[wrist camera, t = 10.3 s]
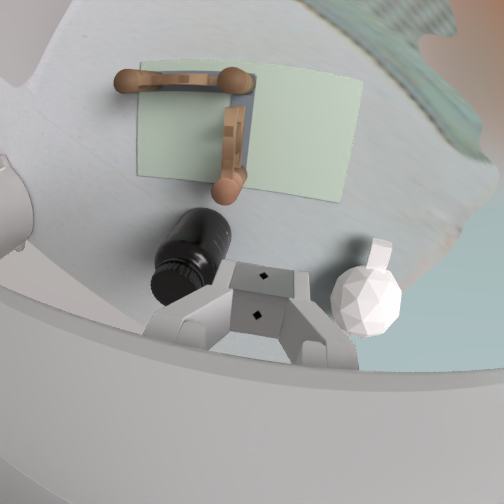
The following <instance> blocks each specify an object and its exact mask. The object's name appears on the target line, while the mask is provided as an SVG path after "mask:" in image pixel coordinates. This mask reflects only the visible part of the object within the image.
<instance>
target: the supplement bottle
mask: <svg viewBox="0 0 504 504" xmlns="http://www.w3.org/2000/svg"><path fill="white" fill-rule="evenodd" d="M230 242H231V229H230V226H229V224H228V222H227V221H226V219H225V218H224V217H223V216H222V215H221V214H219V213H218V212H216V211H214V210H211V209H208V208H196V209H193V210H191V211H189V212H187V213H186V214H185V215H184V216H183V217H182V218H181V219H180V220H179V222H178V223H177V224H176V226H175V227H174V228H173V230H172V231H171V232H170V234H169V235H168V236H167V238H166V239H165V240H164V242H163V243H162V245H161V246H160V247H159V249H158V251H157V253H156V256H155V270H156V271H155V273H154V275H153V276H152V279H151V284H150V285H151V290H152V293H153V294H154V297H155V298H156V299H157V300H158V301H159V302H160V303H161V304H163V305H164V306H168V305H170V304H172V303H173V302H175V301H177V300H179V299H181V298H183V297H185V296H187V295H189V294H191V293H193V292H194V291H196V290H198V289H200V288H202V287H204V286H206V285H212V283H213V281H214V278H215V275H216V273H217V270H218V268H219V265H220V263H221V261H222V260H223V259H225V257H226V254H227V251H228V248H229V245H230Z"/></svg>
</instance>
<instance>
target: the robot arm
mask: <svg viewBox="0 0 504 504" xmlns="http://www.w3.org/2000/svg"><path fill="white" fill-rule="evenodd" d="M32 229H33V209H32V204H31V201H30V197H29V195H28V192H27V190H26V187H25V185H24V184H23V182H22V180H21V179H20V177H19V176H18V175H17V174H16V173H15V172H14V170H13V169H12V168H11V167H10V164H9V162H8V160H7V158H6V156H5V155H0V259H2V258H3V257H4V256H6V255H7V254H9V253H10V252H12V251H13V250H16V251H18V252H20V251H22V250H23V249H24V246H25V241H26V239H27V238H28V237H29V236H30V235H31V232H32ZM229 331H233V332H240V333H247V334H254V335H259V336H265V337H271V338H276V339H278V340H279V342H280V344H281V345H282V347H283V349H284V351H285V352H286V354H287V356H288V357H289V359H290V361H291V363H292V364H287V363H279V362H272V361H265V360H259V359H252V358H246V357H240V356H234V355H229V354H223V353H218V352H213V351H208V350H209V349H210V348H211V347H213V346H214V345H215V344H216V343H217V342H219V341H220V340H221V339H222V338H223V337H224V336H225V335H227V334H228V333H229ZM0 504H504V368H497V369H486V370H472V371H452V372H381V371H380V372H379V371H360V370H359V365H358V358H357V352H356V346H355V344H354V343H353V342H352V341H351V340H350V339H349V338H348V337H347V336H346V334H345V333H344V332H343V331H342V330H341V329H340V328H339V327H338V326H337V325H336V324H335V323H334V322H333V321H332V320H331V319H330V318H329V317H328V315H327V314H326V313H325V312H324V311H323V310H322V309H321V308H320V307H319V306H318V305H317V304H316V303H315V302H313V301H310V287H309V273H308V272H303V271H295V270H286V269H279V268H271V267H265V266H261V265H256V264H250V263H245V262H239V261H234V260H227V259H223V260H222V261H221V263H220V265H219V268H218V270H217V273H216V275H215V278H214V281H213V283H212V285H206V286H204V287H202V288H200V289H198V290H196V291H194V292H193V293H191V294H189V295H187V296H185V297H183V298H181V299H179V300H177V301H175V302H173V303H172V304H170V305H168V306H166V307H164V308H162V309H160V310H158V311H156V312H155V313H154V315H153V316H152V318H151V320H150V322H149V324H148V325H147V327H146V329H145V331H144V333H143V335H140V334H136V333H133V332H129V331H126V330H122V329H119V328H115V327H112V326H108V325H105V324H102V323H99V322H96V321H92V320H89V319H86V318H83V317H80V316H77V315H74V314H72V313H68V312H66V311H63V310H60V309H58V308H55V307H52V306H49V305H47V304H44V303H42V302H39V301H36V300H34V299H31V298H29V297H26V296H24V295H22V294H19V293H17V292H14V291H12V290H9V289H7V288H5V287H3V286H1V285H0Z"/></svg>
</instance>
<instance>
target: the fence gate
mask: <svg viewBox="0 0 504 504" xmlns="http://www.w3.org/2000/svg"><path fill="white" fill-rule="evenodd" d="M245 109H246V106H238V105H235V106H234V107H225V116H224V131H223V147H222V165H221V176H220V178H219V179H218V180H217V181H216V182H215V184H214V185H213V187H212V189H211V195H212V197H213V199H214V200H215V202H217V203H218V204H220V205H230V204H232V203H233V202H234V201H235V200H236V199H237V197H238V195H239V193H240V191H241V189H242V187H243V185H244V183H245V181H246V179H247V176H248V174H247V170H246V169H245V167H243V166H242V165H241V159H242V146H243V133H244V121H245Z"/></svg>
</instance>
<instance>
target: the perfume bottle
mask: <svg viewBox="0 0 504 504" xmlns="http://www.w3.org/2000/svg"><path fill="white" fill-rule="evenodd" d="M391 251H392V242H389V241H385V240H381V239H377V238H374V237H373V241H372V245H371V249H370V253H369V257H368V261H367V264H365V265H361V266H357V267H353V268H350V269H348V270H347V271H345V272H344V273H343V274H342V275H340V276H339V277H338V278H337V281H336V283H335V286H334V288H333V291H332V293H331V296H330V301H331V309H332V316H333V319H334V320H335V321H336V322H337V324H338V325H339V326H340V328H341V329H343V330H345V331H347V332H349V333H351V334H353V335H355V336H357V337H359V338H364V337H369V336H374V335H379V334H383V333H384V332H385V331H386V330H387V328H388V327H389V326H390V325H391V324H392V323H393V322H394V320H395V319H396V318H397V317H398V316H399V310H400V302H401V293H402V291H401V290H400V288H399V286H398V284H397V282H396V281H395V279H394V277H393V276H392V274H391V272H390V271H388V270H386V268H387V265H388V262H389V258H390V255H391Z"/></svg>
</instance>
